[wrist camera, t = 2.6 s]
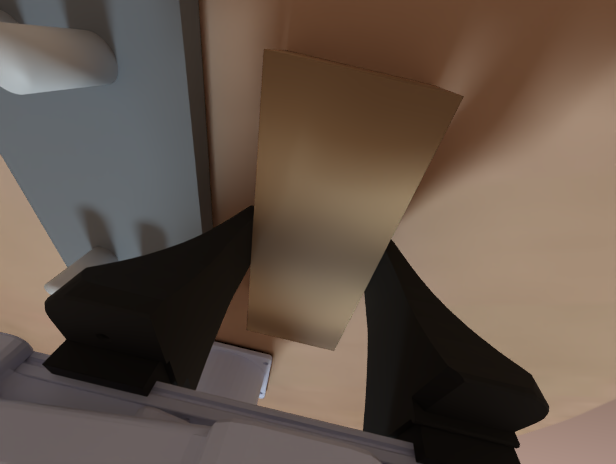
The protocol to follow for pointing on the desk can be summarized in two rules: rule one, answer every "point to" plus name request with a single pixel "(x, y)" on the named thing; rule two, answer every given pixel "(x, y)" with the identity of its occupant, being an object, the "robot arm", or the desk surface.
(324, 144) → the shelf board
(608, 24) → the desk surface
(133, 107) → the peg stand
